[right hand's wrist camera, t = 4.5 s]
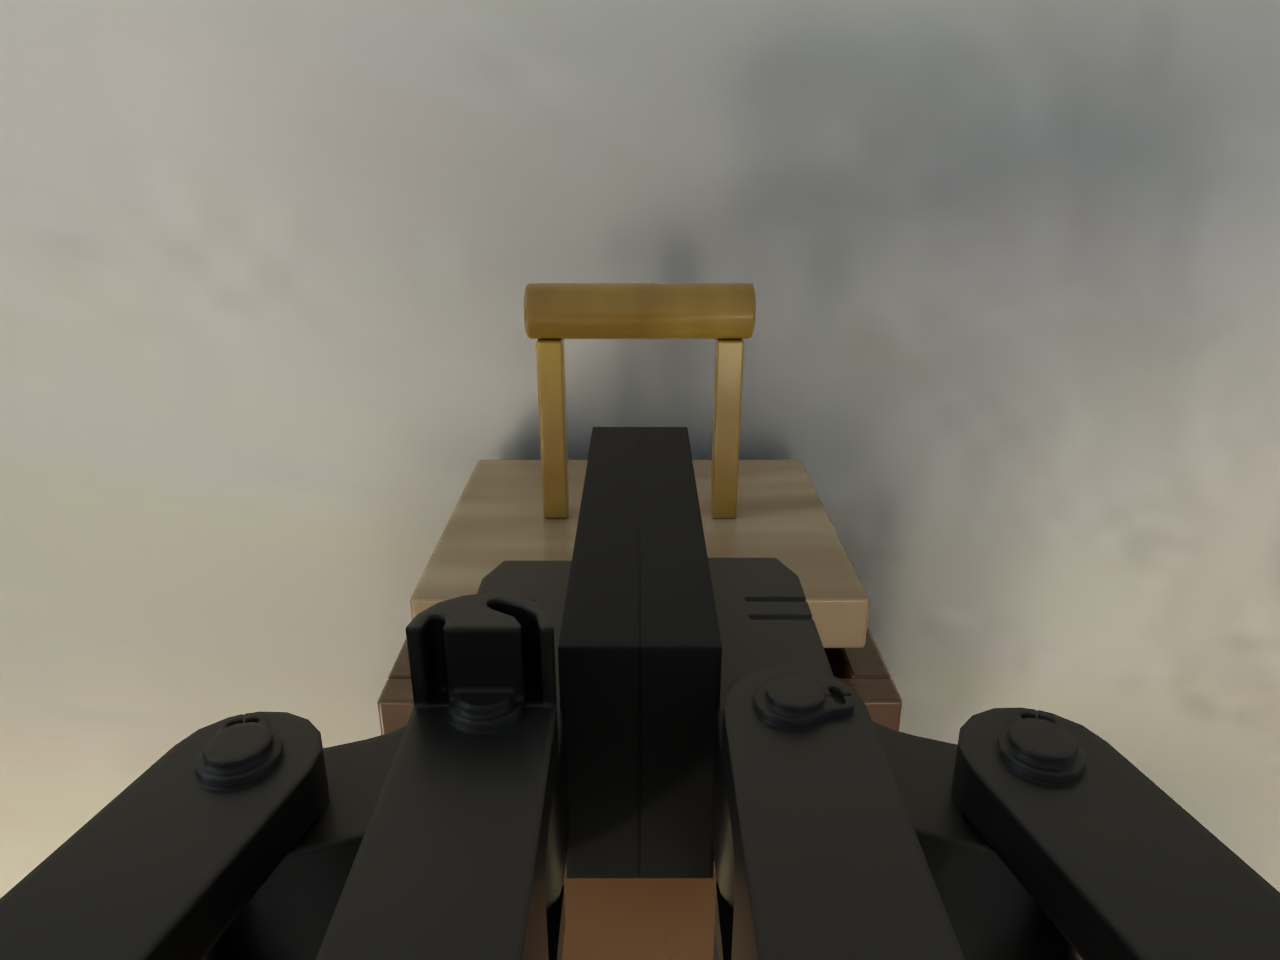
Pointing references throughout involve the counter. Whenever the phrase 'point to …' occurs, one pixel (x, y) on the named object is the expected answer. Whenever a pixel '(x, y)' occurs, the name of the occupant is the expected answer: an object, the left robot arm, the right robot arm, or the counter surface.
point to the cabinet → (658, 907)
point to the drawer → (727, 487)
